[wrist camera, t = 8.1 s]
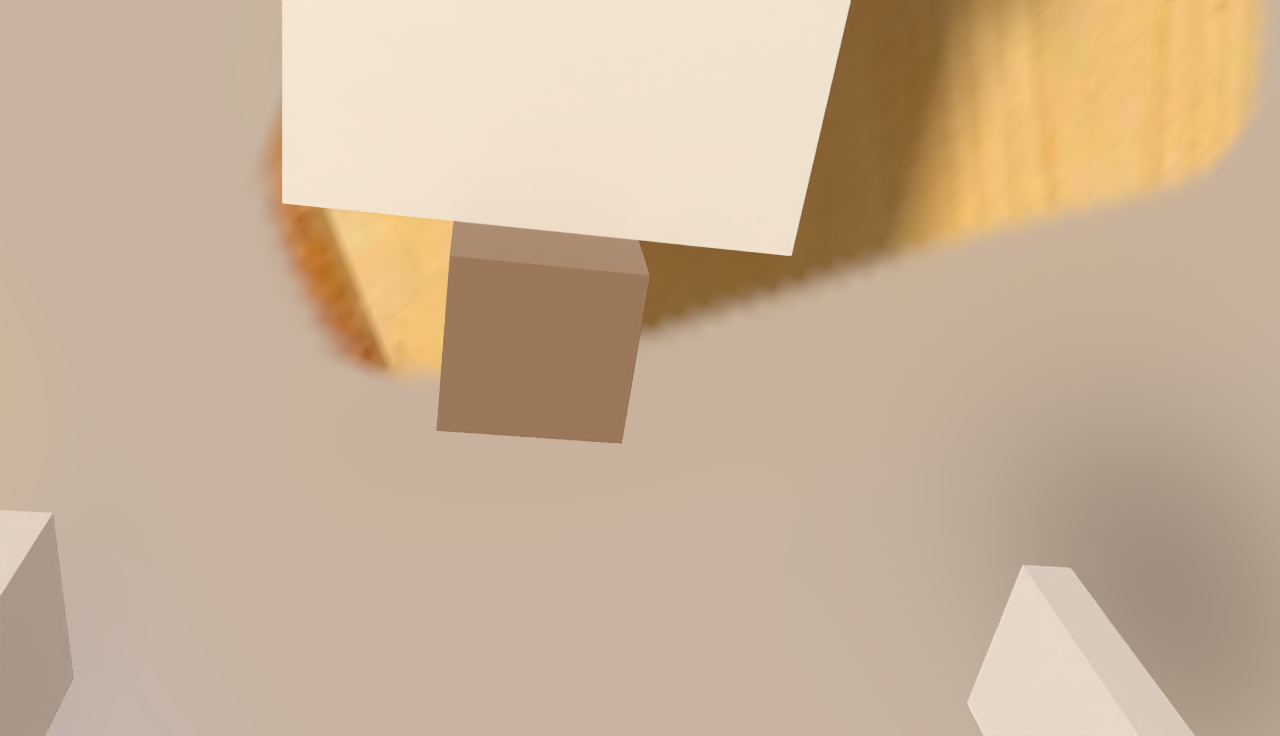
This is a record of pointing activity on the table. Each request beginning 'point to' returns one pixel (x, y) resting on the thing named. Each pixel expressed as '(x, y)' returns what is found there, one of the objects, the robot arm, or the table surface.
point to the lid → (557, 166)
